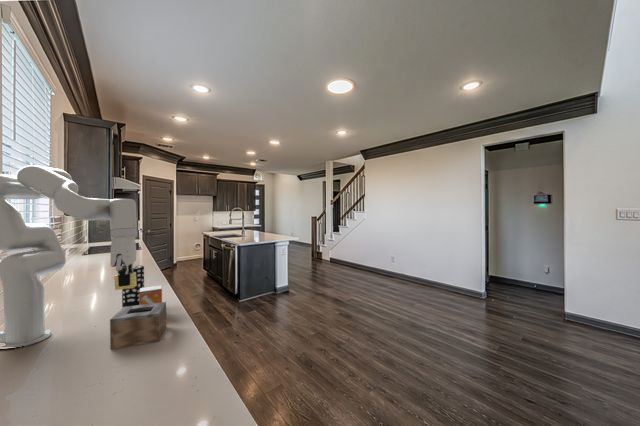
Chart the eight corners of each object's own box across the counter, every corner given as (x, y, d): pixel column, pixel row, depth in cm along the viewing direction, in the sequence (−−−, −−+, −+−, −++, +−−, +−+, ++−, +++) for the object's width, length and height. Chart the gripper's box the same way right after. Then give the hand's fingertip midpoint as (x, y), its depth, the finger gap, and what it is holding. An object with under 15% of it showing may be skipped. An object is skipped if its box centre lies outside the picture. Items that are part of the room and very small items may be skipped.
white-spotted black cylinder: (118, 312, 115) (117, 268, 115) (137, 305, 123) (136, 265, 123) (129, 315, 112) (129, 270, 112) (148, 308, 120) (148, 266, 120)
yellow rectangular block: (115, 290, 88) (114, 275, 88) (118, 287, 91) (117, 273, 91) (133, 287, 90) (132, 273, 90) (136, 285, 93) (135, 271, 92)
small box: (139, 323, 104) (138, 291, 104) (140, 317, 109) (139, 287, 109) (162, 318, 109) (162, 288, 108) (162, 313, 114) (161, 284, 114)
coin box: (110, 349, 84) (110, 319, 84) (123, 333, 96) (123, 306, 95) (158, 341, 89) (158, 313, 89) (166, 326, 101) (166, 301, 100)
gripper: (120, 232, 96) (122, 280, 97) (100, 235, 81) (102, 292, 81) (143, 231, 99) (145, 277, 99) (128, 234, 84) (130, 289, 84)
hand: (126, 284), depth 90 cm, fingers closed on yellow rectangular block, 2 cm apart
